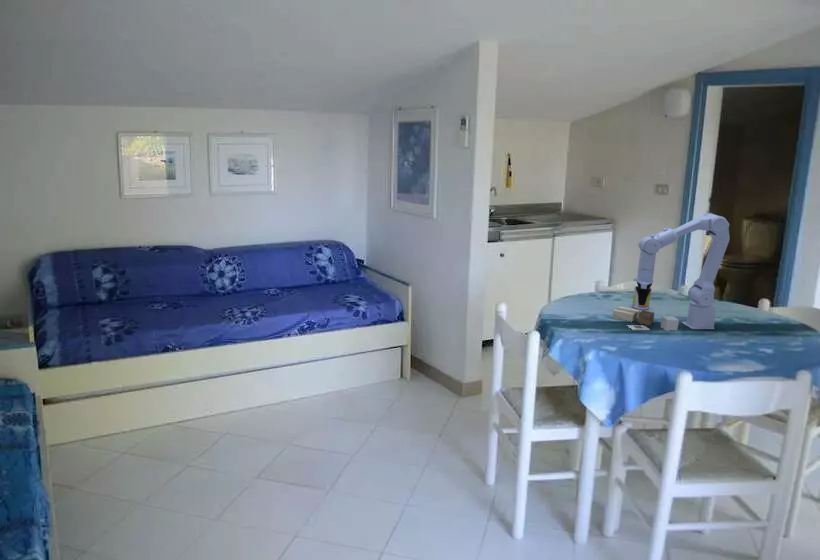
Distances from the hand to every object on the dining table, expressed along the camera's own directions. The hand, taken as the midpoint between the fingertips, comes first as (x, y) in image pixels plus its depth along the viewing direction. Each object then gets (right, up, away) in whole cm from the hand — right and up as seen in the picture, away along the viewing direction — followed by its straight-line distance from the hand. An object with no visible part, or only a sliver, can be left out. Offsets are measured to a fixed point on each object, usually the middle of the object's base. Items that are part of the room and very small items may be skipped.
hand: (641, 302), depth 255 cm
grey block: (+10, -10, -2) cm, 14 cm away
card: (-2, -10, -2) cm, 10 cm away
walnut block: (+3, -8, +4) cm, 10 cm away
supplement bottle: (+8, -3, +26) cm, 27 cm away
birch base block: (-3, -7, +10) cm, 13 cm away
